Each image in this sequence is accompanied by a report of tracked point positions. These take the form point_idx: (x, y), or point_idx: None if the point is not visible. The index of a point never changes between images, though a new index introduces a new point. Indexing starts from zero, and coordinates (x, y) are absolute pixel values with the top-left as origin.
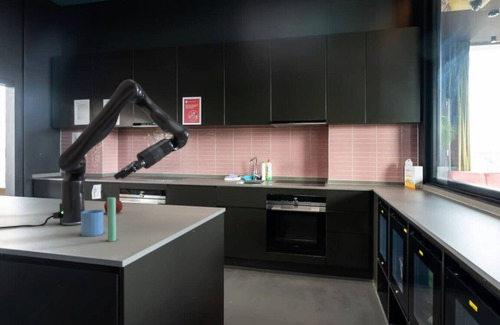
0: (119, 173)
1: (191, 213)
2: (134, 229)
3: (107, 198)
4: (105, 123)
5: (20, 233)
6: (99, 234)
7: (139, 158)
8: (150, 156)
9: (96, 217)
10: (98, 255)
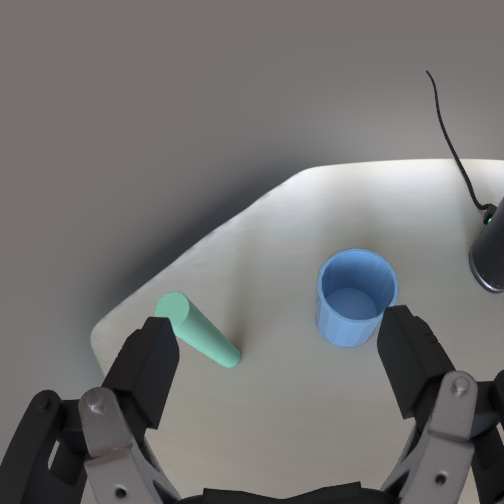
0: (405, 358)
1: None
2: (336, 445)
3: (173, 292)
4: None
5: (415, 177)
6: (321, 333)
7: None
8: None
9: (319, 303)
10: (133, 306)
